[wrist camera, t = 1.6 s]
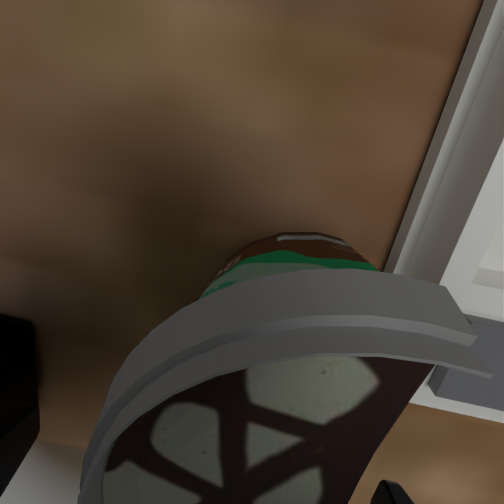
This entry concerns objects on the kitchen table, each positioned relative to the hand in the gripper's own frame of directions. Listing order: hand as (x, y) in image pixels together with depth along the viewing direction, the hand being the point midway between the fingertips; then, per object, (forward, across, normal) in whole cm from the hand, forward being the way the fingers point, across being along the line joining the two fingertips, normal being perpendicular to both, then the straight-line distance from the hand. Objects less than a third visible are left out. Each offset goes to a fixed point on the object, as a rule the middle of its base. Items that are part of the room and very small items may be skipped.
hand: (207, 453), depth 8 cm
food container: (+8, 0, 0) cm, 8 cm away
